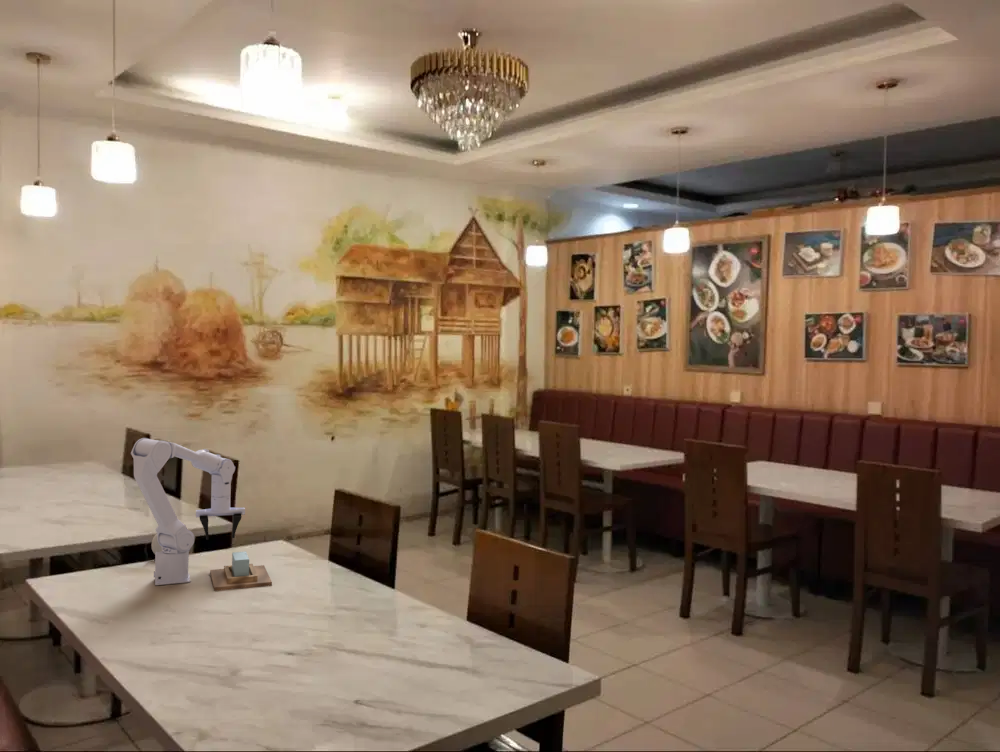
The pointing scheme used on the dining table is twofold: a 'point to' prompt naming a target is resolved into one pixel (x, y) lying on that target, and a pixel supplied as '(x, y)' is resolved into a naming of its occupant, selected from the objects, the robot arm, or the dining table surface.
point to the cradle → (239, 578)
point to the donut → (156, 545)
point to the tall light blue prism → (240, 564)
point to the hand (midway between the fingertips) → (220, 538)
